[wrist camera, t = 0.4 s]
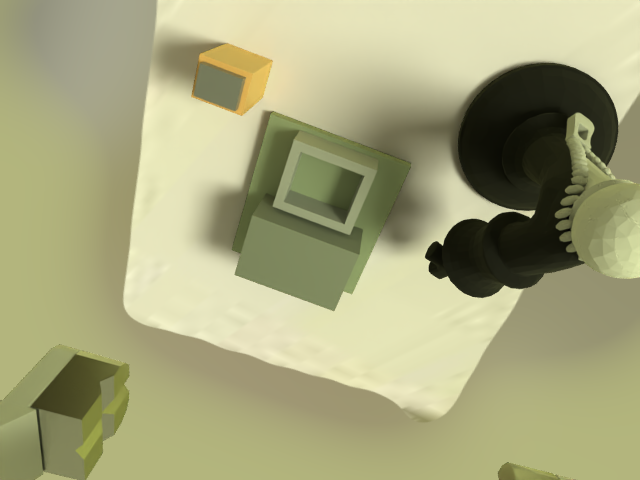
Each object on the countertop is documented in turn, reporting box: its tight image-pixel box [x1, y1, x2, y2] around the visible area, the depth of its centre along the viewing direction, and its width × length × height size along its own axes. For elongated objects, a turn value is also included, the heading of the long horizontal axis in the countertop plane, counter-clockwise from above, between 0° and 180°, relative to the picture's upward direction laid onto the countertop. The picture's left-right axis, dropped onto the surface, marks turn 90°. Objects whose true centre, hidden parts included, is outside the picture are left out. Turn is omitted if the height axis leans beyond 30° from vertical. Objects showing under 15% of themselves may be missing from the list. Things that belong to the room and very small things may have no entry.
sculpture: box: [425, 63, 640, 298], centre depth 42 cm, size 15×24×25 cm, turn 146°
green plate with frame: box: [232, 111, 411, 311], centre depth 55 cm, size 18×16×7 cm
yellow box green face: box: [191, 43, 273, 116], centre depth 48 cm, size 4×5×9 cm
